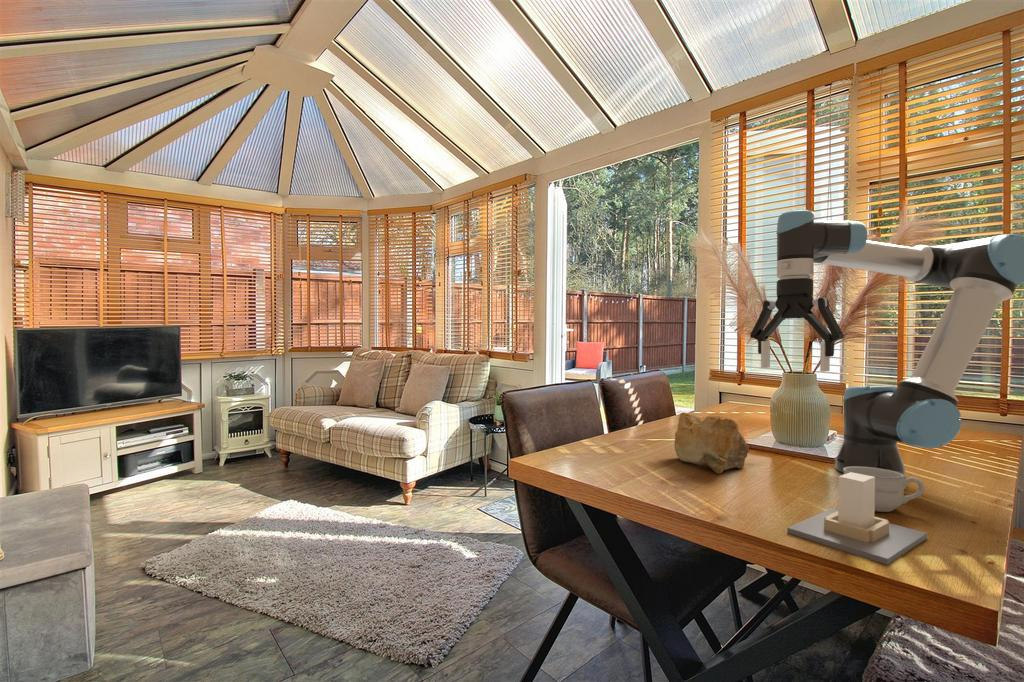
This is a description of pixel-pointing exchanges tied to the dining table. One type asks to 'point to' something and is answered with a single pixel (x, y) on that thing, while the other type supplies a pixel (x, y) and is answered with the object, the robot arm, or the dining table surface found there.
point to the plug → (856, 500)
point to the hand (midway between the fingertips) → (793, 369)
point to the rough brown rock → (710, 442)
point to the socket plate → (859, 536)
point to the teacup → (888, 487)
